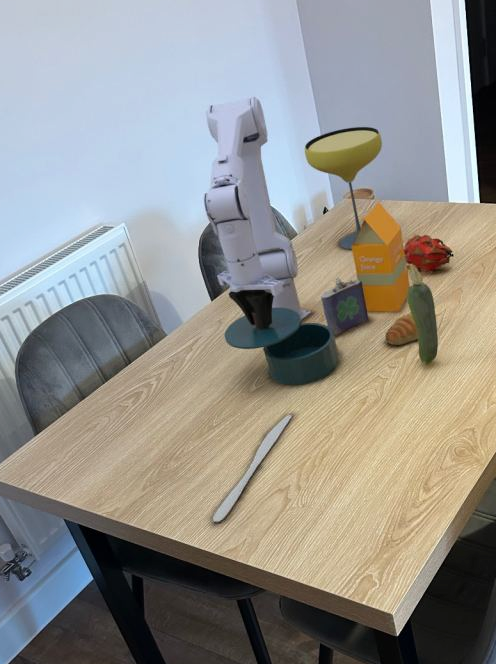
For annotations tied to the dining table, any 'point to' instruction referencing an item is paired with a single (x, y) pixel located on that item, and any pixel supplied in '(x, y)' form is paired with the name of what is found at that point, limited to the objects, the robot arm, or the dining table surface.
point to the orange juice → (381, 261)
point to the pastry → (402, 331)
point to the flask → (345, 306)
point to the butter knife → (250, 469)
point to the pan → (303, 355)
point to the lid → (262, 329)
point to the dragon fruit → (427, 253)
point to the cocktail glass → (344, 158)
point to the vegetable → (423, 315)
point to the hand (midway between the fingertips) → (261, 323)
